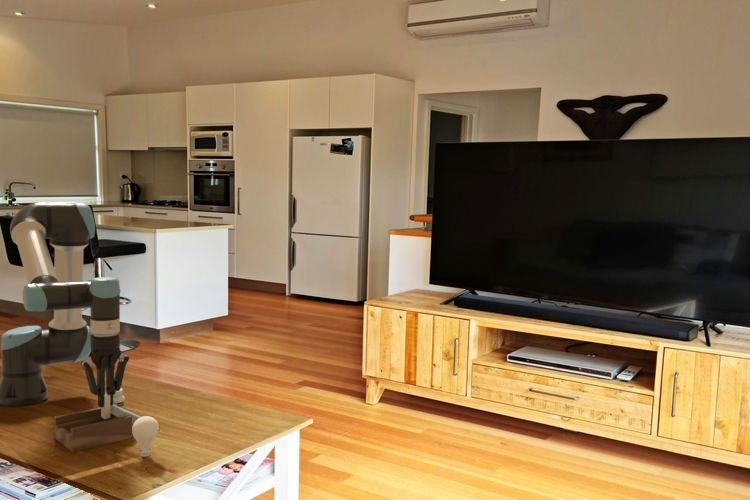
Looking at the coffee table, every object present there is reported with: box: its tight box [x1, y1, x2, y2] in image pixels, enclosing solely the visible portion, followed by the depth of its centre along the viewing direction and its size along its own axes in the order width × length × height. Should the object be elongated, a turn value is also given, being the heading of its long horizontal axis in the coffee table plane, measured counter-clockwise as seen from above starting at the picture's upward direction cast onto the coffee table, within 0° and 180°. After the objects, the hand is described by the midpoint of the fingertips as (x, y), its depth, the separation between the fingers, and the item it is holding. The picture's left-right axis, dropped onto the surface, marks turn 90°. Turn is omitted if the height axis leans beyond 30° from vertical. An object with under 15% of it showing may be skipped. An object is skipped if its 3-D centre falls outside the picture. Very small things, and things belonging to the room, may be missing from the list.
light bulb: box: [132, 415, 160, 459], centre depth 177 cm, size 7×7×11 cm
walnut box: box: [53, 407, 133, 453], centre depth 187 cm, size 13×16×7 cm
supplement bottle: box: [113, 387, 126, 418], centre depth 203 cm, size 5×5×10 cm
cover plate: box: [110, 405, 160, 428], centre depth 194 cm, size 10×14×2 cm
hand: (105, 417), depth 189 cm, fingers closed
